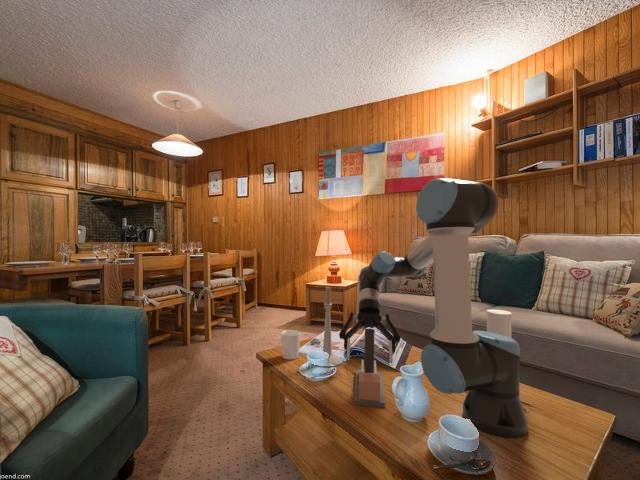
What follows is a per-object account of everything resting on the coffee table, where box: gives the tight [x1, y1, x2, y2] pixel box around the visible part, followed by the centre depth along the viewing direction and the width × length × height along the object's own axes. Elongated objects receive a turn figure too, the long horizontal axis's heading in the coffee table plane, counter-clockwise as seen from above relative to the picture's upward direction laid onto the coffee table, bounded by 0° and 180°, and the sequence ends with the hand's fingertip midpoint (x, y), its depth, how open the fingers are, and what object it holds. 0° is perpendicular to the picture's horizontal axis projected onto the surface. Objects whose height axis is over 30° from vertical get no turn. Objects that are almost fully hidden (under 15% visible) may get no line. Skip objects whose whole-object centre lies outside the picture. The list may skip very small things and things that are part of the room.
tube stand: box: [353, 359, 386, 408], centre depth 99 cm, size 22×9×6 cm, turn 172°
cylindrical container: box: [486, 308, 513, 338], centre depth 101 cm, size 7×7×25 cm
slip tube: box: [364, 328, 375, 373], centre depth 97 cm, size 12×3×17 cm, turn 172°
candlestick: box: [322, 286, 344, 367], centre depth 121 cm, size 13×13×30 cm
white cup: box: [280, 329, 301, 360], centre depth 125 cm, size 8×8×10 cm
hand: (369, 360), depth 96 cm, fingers open, 13 cm apart
